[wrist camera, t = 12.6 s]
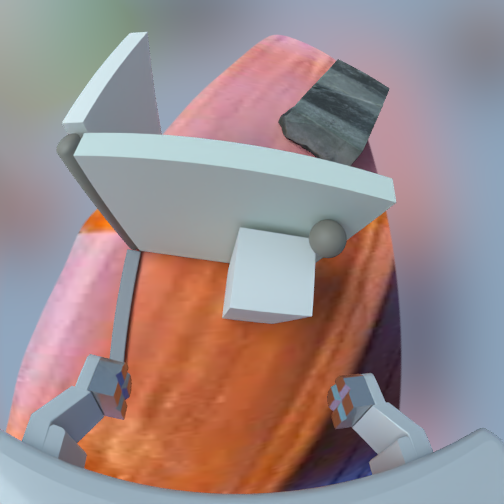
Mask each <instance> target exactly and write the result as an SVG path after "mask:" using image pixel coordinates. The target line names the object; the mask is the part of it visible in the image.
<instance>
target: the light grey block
mask: <svg viewBox="0 0 504 504" xmlns="http://www.w3.org/2000/svg"><path fill="white" fill-rule="evenodd" d="M314 278H315V252H314V251H313V250H312V248H311V246H310V244H309V238H305V237H299V236H292V235H286V234H280V233H274V232H267V231H261V230H254V229H248V228H241V227H240V229H239V232H238V236H237V240H236V243H235V247H234V250H233V254H232V257H231V261H230V265H229V268H228V275H227V283H226V291H225V299H224V308H223V316H222V318H225V319H232V320H241V321H249V322H259V323H268V324H274V323H280V322H285V321H291V320H296V319H301V318H306V317H311V316H312V312H313V296H314Z"/></svg>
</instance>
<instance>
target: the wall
mask: <svg viewBox="0 0 504 504" xmlns="http://www.w3.org/2000/svg"><path fill="white" fill-rule="evenodd" d="M62 124H63V126H64V128H65V130H66V132H67V134H68V135H69V134H72V133H76V134H78V135H79V136H80V138H81V139H82V137H83V135H84V133H138V134H157V135H162V133H161V128H160V122H159V116H158V109H157V103H156V97H155V90H154V83H153V75H152V68H151V59H150V50H149V41H148V32H139V33H130V34H129V35H128V36H127V37H126V38H125V39H124V40H123V41H122V42H121V43H120V44H119V46H118V47H117V48H116V49H115V50H114V51H113V52H112V54H111V55H110V56H109V57H108V59H107V60H106V61H105V62H104V63H103V64H102V66H101V67H100V68H99V70H98V71H97V72H96V73H95V75H94V76H93V77H92V79H91V80H90V82H89V83H88V85H87V86H86V87H85V89H84V90H83V91H82V93H81V94H80V96H79V97H78V99H77V100H76V101H75V103H74V105H73V106H72V108H71V109H70V111H69V112H68V114H67V116H66V117H65V119H64V121H63V122H62ZM140 256H141V252H140V251H134V250H127V254H126V258H125V263H124V268H123V272H122V278H121V283H120V288H119V294H118V300H117V306H116V312H115V319H114V326H113V334H112V342H111V351H110V359H112V360H117V361H121V362H124V358H125V349H126V340H127V332H128V324H129V317H130V310H131V304H132V298H133V292H134V286H135V281H136V276H137V270H138V265H139V261H140Z"/></svg>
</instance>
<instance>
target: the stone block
mask: <svg viewBox="0 0 504 504" xmlns="http://www.w3.org/2000/svg"><path fill="white" fill-rule="evenodd" d="M388 91H389V88H388V87H386V86H385V85H383V84H382V83H380V82H378V81H377V80H375V79H373V78H372V77H370V76H369V75H367V74H365V73H363V72H361V71H360V70H358V69H356V68H354V67H352V66H350V65H348V64H346V63H344V62H343V61H340V60H337V61H336V62H335V63H334V64H333V65H332V67H331V68H330V69H329V70H328V71H327V72H326V73H325V74H324V75H323V76H322V77H321V78H320V79H319V80H318V82H317V83H316V84H314V85H313V87H312V88H311V89H310V90H309V91H308V92H307V93H306V94H305V95H304V96H303V97H302V98H301V100H300V101H299V102H298V103H297V104H296V105H295V106H294V107H292V108H291V109H289V110H288V111H287V112H286V113H284V114H283V115H282V116H281V117H280V119H279V124H280V125H281V127H282V131H283V134H284V136H285V137H286V138H289V139H291V140H292V141H294V142H296V143H297V144H299V145H301V146H302V147H303V148H305V149H307V150H309V151H310V152H311V153H312V154H314V155H315V156H317V157H318V158H319V159H323V160H327V161H332V162H336V163H339V164H343V165H347V166H351V165H352V164H353V163H354V161H355V160H356V159H357V158H358V156H359V155H360V154H361V153H362V151H363V149H364V147H365V145H366V143H367V140H368V138H369V136H370V134H371V131H372V129H373V127H374V124H375V122H376V120H377V118H378V115H379V113H380V111H381V108H382V107H383V103H384V101H385V99H386V96H387V94H388Z"/></svg>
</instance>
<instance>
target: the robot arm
mask: <svg viewBox="0 0 504 504" xmlns="http://www.w3.org/2000/svg"><path fill="white" fill-rule="evenodd" d="M127 371H128V365H127V363H126V362H121V361H117V360H112V359H108V358H104V357H100V356H96V355H92V354H90V355H89V356H88V357H87V359H86V361H85V364H84V366H83V368H82V371H81V373H80V376H79V378H78V381H77V383H76V386H75V387H74V386H71V387H70V388H68V389H67V390H65V391H64V392H63V393H61V394H60V395H58V396H57V397H55V398H54V399H53V400H51V401H50V402H48V403H47V404H45V405H44V406H42V407H41V408H40V409H38V410H37V411H35V412H34V413H32V415H31V417H30V420H29V423H28V425H27V428H26V431H25V434H24V437H23V439H22V441H20V440H18V439H17V438H15V437H13V436H11V435H10V434H8V433H6V432H4V431H3V430H1V429H0V504H504V444H503V442H502V441H501V439H500V438H499V437H497V436H496V435H495V434H493V433H492V432H490V431H489V430H487V429H485V428H480V429H478V430H476V431H474V432H472V433H471V434H469V435H467V436H465V437H463V438H461V439H460V440H458V441H456V442H454V443H452V444H450V445H448V446H446V447H444V448H442V449H440V450H438V451H435V452H433V450H432V448H431V445H430V443H429V440H428V438H427V436H426V433H425V431H424V429H422V428H421V427H420V426H419V425H417V424H416V423H414V422H413V421H412V420H411V419H409V418H408V417H407V416H405V415H404V414H403V413H401V412H400V411H399V410H398V409H396V408H395V407H394V406H392V405H391V404H390V403H389V402H388V403H386V402H385V400H384V397H383V395H382V393H381V391H380V388H379V386H378V384H377V381H376V379H375V377H374V375H373V374H372V373H366V374H354V375H343V376H339V377H337V378H336V380H335V383H336V384H335V385H334V386H332V387H331V388H330V390H329V391H328V396H327V401H328V406H329V408H330V409H331V410H333V414H332V416H331V417H332V420H333V424H334V427H335V429H338V428H346V427H352V428H353V429H354V430H355V431H356V432H357V433H358V434H359V435H360V436H361V437H362V438H363V439H364V440H365V441H366V442H367V443H368V444H369V446H370V447H371V448H372V449H373V450H374V451H375V452H376V453H377V454H378V455H377V456H376V457H374V458H373V459H371V461H370V462H369V464H370V468H371V471H372V475H370V476H367V477H363V478H359V479H355V480H351V481H347V482H343V483H338V484H333V485H328V486H322V487H317V488H310V489H303V490H295V491H286V492H275V493H259V494H217V493H200V492H189V491H180V490H172V489H165V488H159V487H153V486H148V485H143V484H138V483H133V482H129V481H125V480H121V479H117V478H113V477H110V476H106V475H103V474H99V473H96V472H93V471H90V470H87V469H84V466H85V461H86V456H87V455H86V453H85V451H84V450H83V449H82V448H81V447H80V446H79V445H78V444H77V443H78V442H79V441H80V440H81V439H82V438H83V437H84V436H85V435H86V434H87V433H88V432H89V431H90V430H91V429H92V428H93V427H94V426H95V425H96V424H97V423H98V422H99V421H100V420H101V419H102V418H103V417H104V416H108V417H113V418H117V419H122V420H124V418H125V414H126V410H127V404H126V401H125V400H126V399H127V398H129V397H130V393H131V385H132V382H131V376H130V374H129V373H128V372H127Z"/></svg>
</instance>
